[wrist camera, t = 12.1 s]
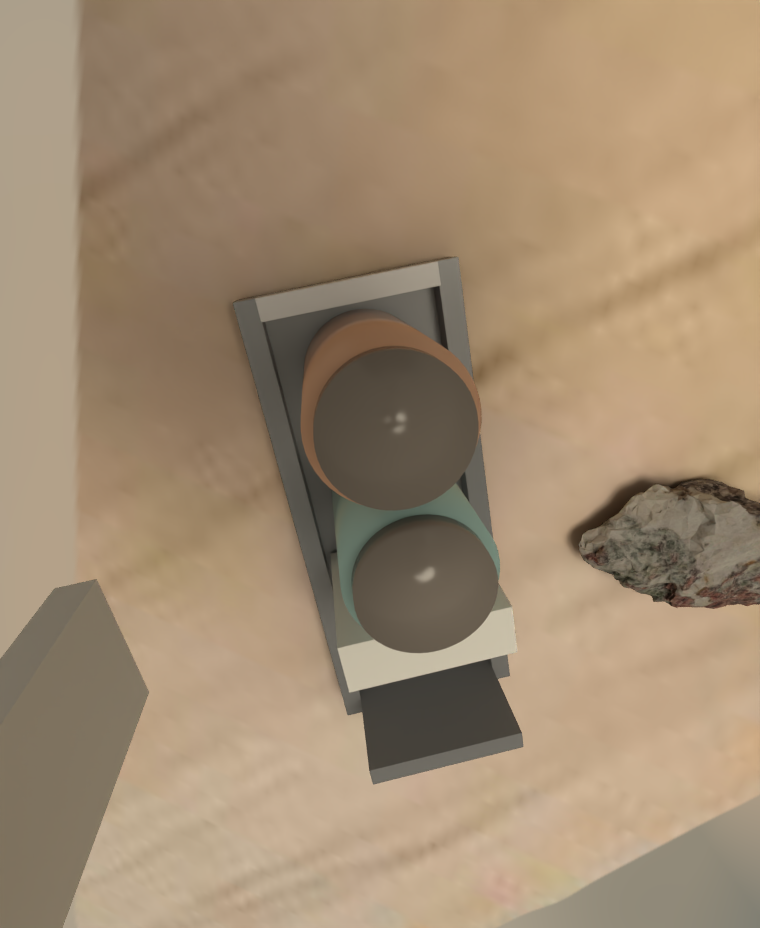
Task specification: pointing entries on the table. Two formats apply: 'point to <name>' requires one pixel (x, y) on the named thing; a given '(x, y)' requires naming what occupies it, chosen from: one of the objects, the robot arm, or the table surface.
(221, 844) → the table surface
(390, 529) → the jar teal
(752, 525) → the mineral rock
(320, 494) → the lane
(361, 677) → the pusher
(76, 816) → the robot arm
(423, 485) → the jar terracotta
